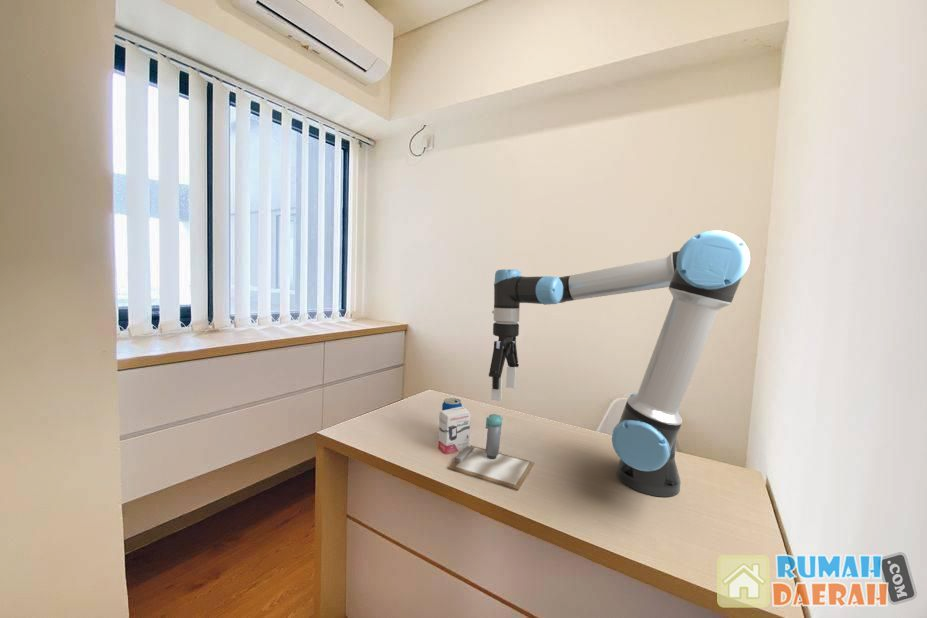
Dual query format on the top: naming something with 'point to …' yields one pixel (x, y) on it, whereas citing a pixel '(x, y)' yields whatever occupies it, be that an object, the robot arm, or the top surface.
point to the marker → (493, 435)
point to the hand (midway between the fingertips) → (503, 393)
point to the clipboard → (492, 467)
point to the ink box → (454, 429)
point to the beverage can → (451, 403)
